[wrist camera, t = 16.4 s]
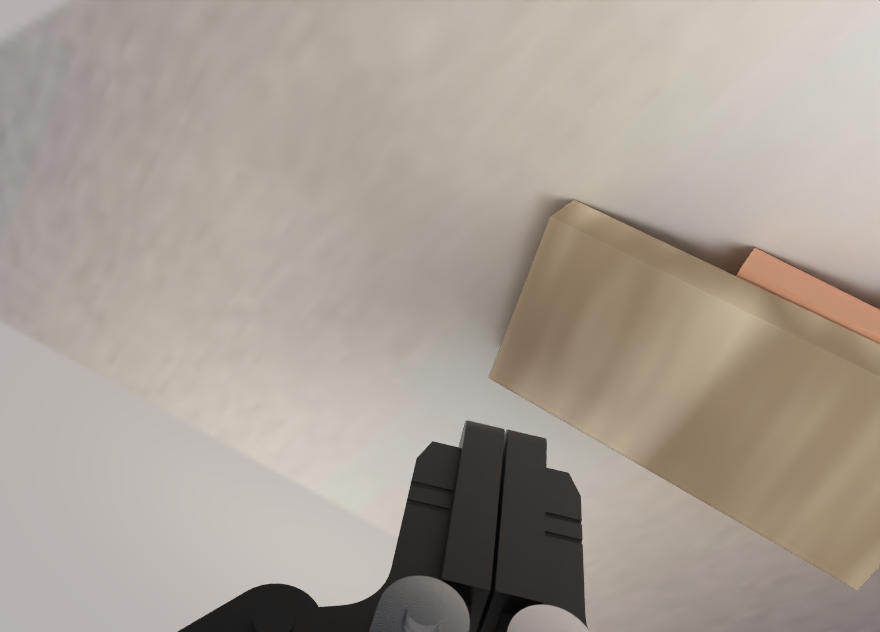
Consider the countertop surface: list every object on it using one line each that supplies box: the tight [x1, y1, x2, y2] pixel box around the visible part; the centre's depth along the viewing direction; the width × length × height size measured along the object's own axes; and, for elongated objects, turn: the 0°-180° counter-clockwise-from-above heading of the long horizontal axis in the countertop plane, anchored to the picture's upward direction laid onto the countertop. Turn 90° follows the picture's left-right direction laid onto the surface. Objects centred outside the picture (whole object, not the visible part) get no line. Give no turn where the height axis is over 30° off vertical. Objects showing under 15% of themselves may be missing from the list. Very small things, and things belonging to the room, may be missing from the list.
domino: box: [489, 200, 880, 590], centre depth 18 cm, size 2×5×10 cm
